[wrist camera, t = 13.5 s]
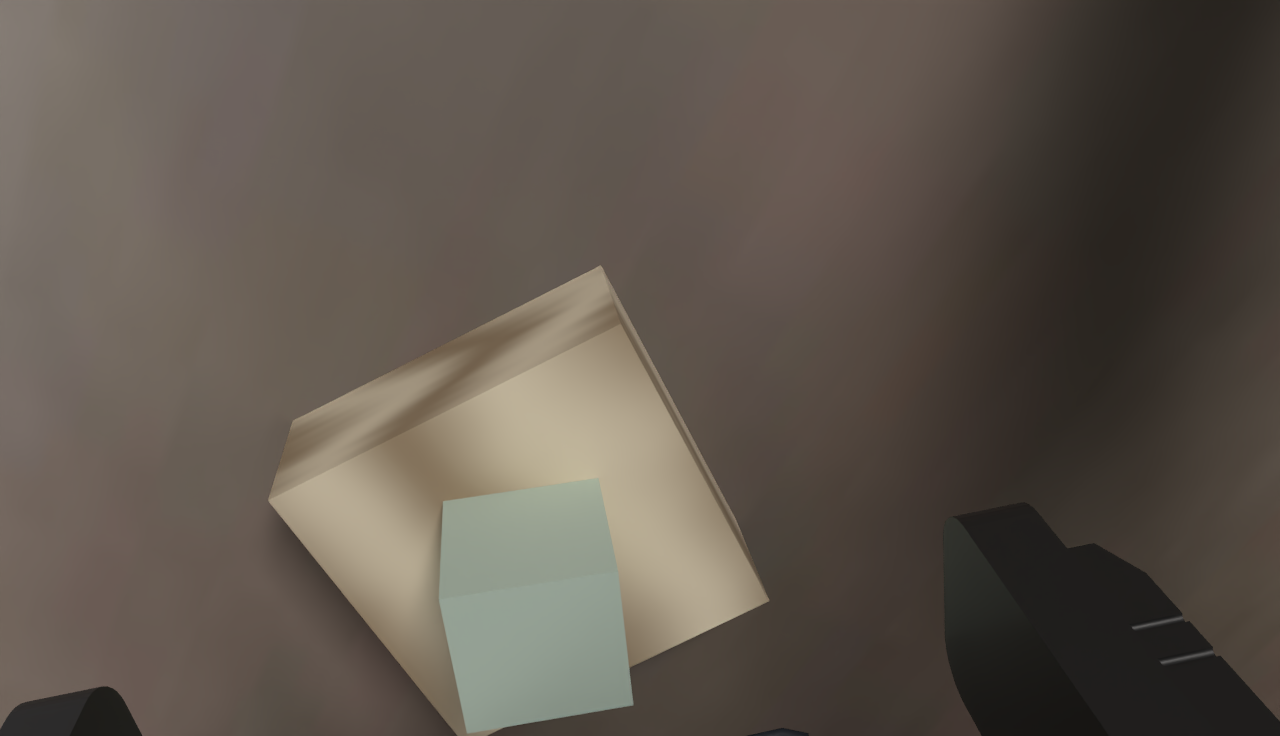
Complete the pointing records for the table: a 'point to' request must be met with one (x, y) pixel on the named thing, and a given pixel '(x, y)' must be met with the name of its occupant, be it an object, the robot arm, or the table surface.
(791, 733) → the dark grey book
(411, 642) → the maple block
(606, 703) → the sage cube
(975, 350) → the table surface
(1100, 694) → the robot arm
